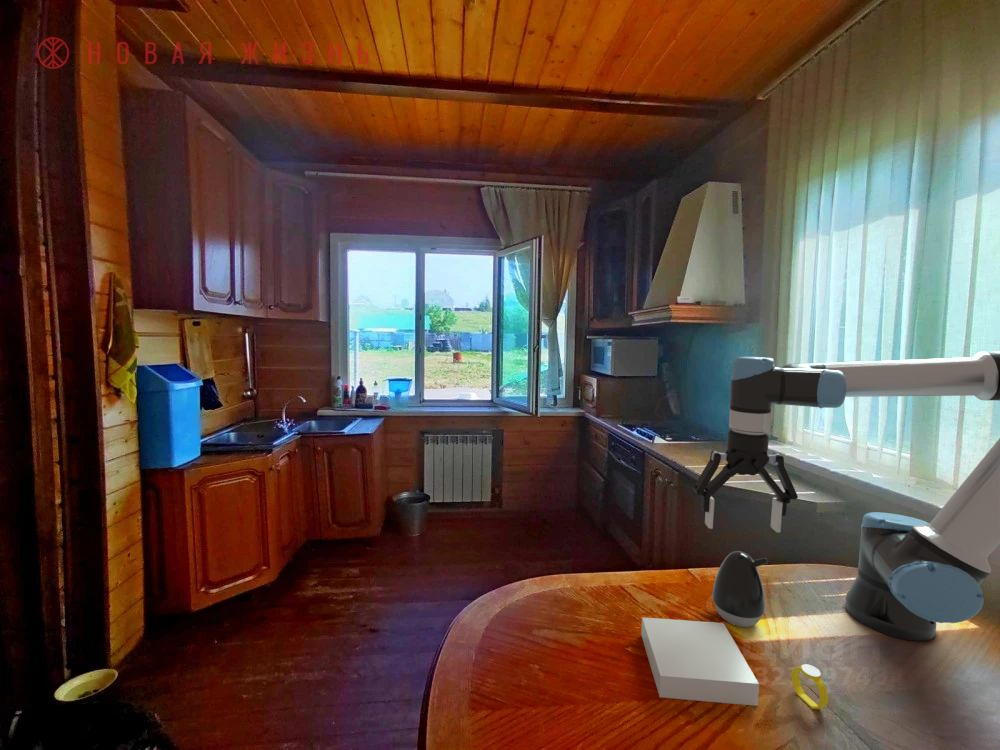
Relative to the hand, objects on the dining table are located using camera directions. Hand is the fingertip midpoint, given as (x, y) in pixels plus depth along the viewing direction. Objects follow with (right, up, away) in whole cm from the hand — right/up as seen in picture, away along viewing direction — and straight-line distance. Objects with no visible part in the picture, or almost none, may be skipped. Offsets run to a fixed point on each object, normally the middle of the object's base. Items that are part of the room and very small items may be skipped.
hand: (741, 528), depth 98 cm
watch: (+1, -23, -20) cm, 31 cm away
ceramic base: (-16, -22, -12) cm, 30 cm away
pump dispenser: (0, -21, +2) cm, 21 cm away
